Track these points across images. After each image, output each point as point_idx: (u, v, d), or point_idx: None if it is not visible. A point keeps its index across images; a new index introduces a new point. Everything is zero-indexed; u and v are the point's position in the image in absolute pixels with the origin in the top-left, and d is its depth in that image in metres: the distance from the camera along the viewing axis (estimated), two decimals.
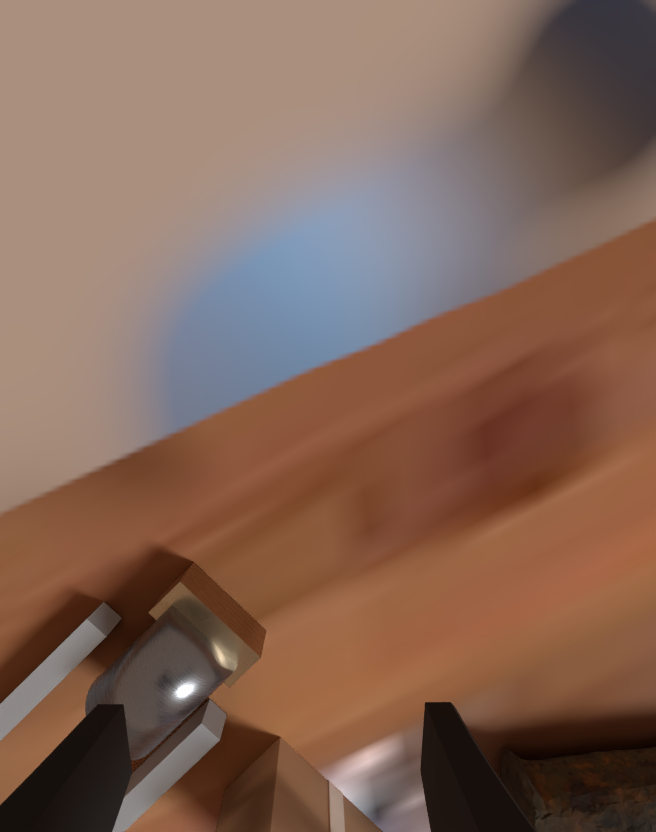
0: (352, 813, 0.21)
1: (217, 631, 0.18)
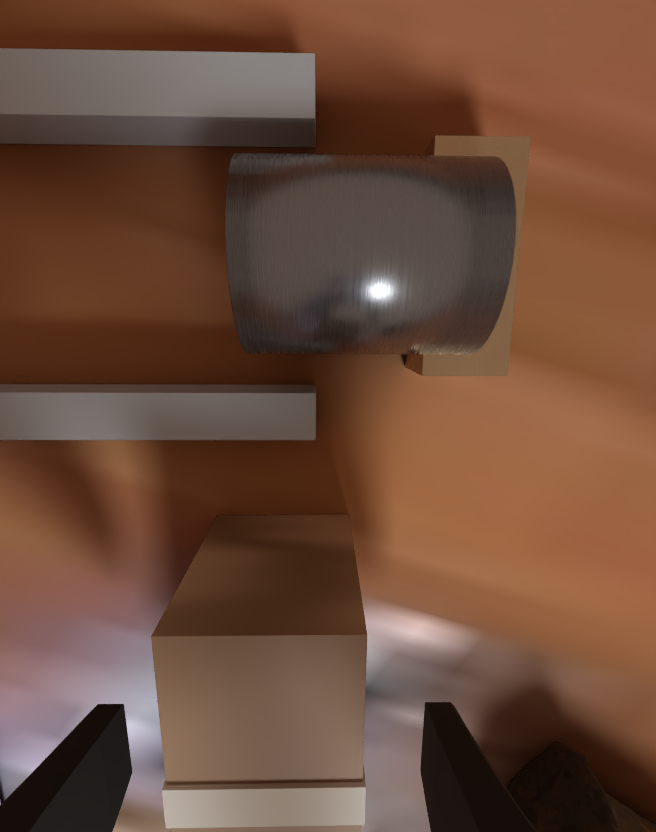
0: None
1: None
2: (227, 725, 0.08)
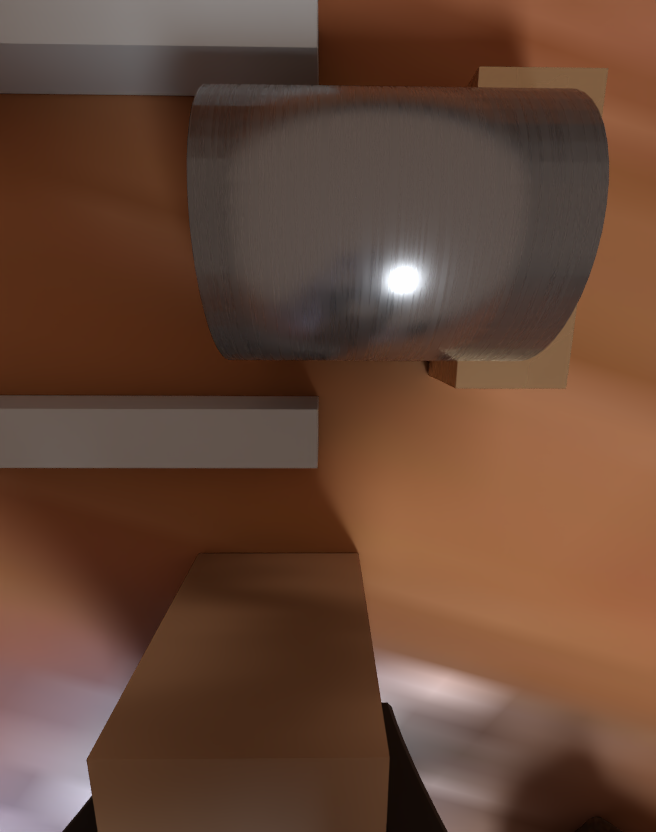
0: None
1: None
2: None
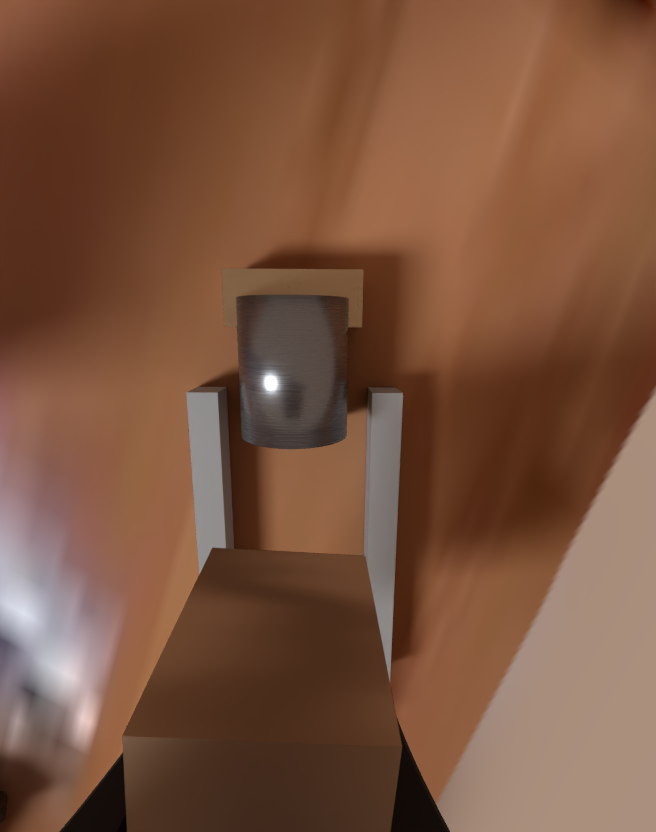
0: None
1: None
2: None
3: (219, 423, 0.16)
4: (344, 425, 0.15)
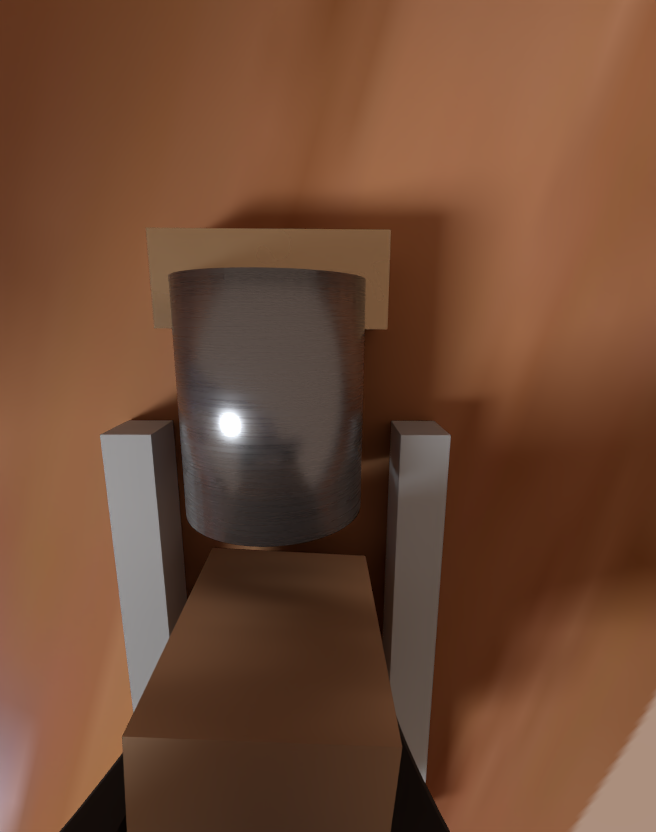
0: None
1: None
2: None
3: (155, 483, 0.10)
4: (357, 494, 0.09)
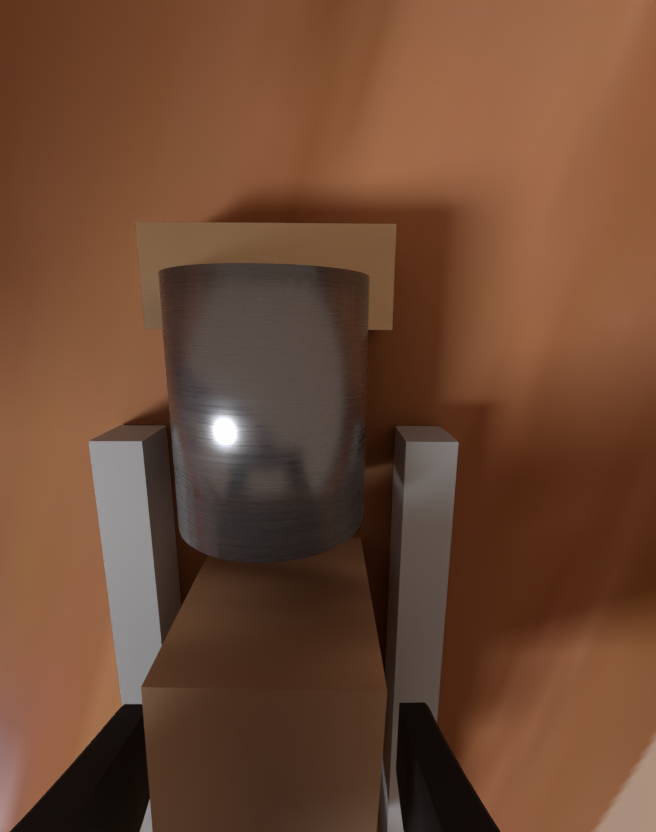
0: None
1: None
2: (224, 786, 0.07)
3: (147, 492, 0.10)
4: (360, 504, 0.08)
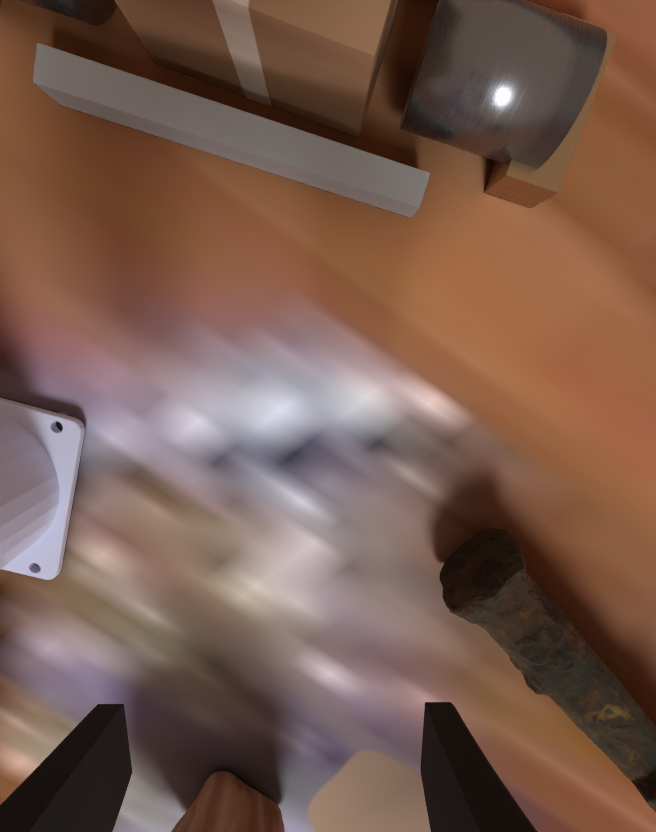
0: None
1: None
2: None
3: (74, 55, 0.14)
4: None
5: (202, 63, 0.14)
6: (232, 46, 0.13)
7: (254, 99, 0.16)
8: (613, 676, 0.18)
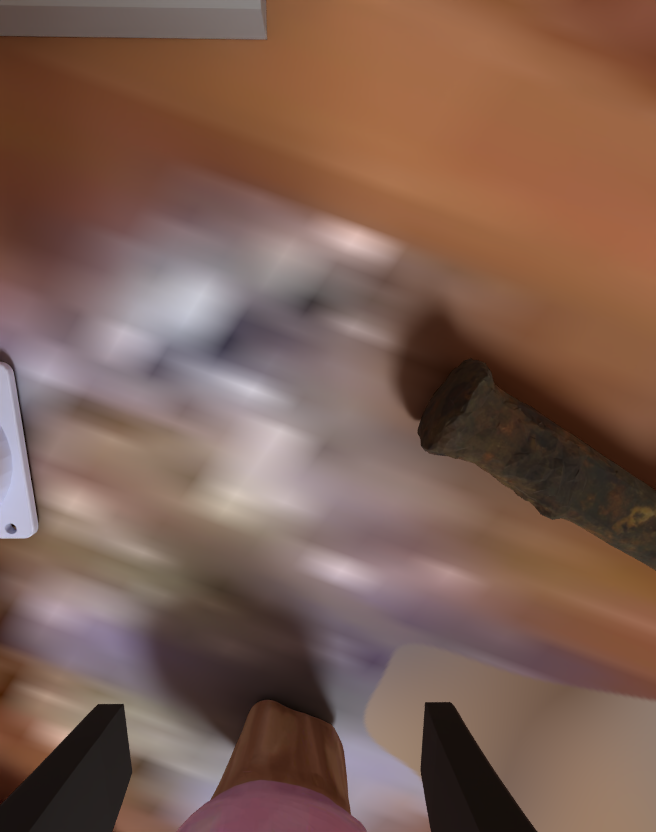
0: None
1: None
2: None
3: None
4: None
5: None
6: None
7: None
8: (633, 477, 0.16)
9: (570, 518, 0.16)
